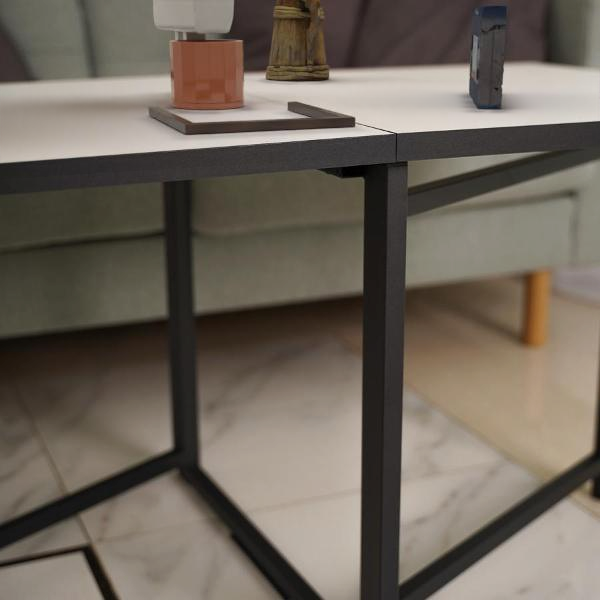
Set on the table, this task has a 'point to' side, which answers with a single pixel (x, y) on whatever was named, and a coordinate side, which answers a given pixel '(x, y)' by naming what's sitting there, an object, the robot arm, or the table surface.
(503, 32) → the vhs cassette tape
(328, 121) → the frame
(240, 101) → the cup
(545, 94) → the table surface
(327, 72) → the wooden mug
